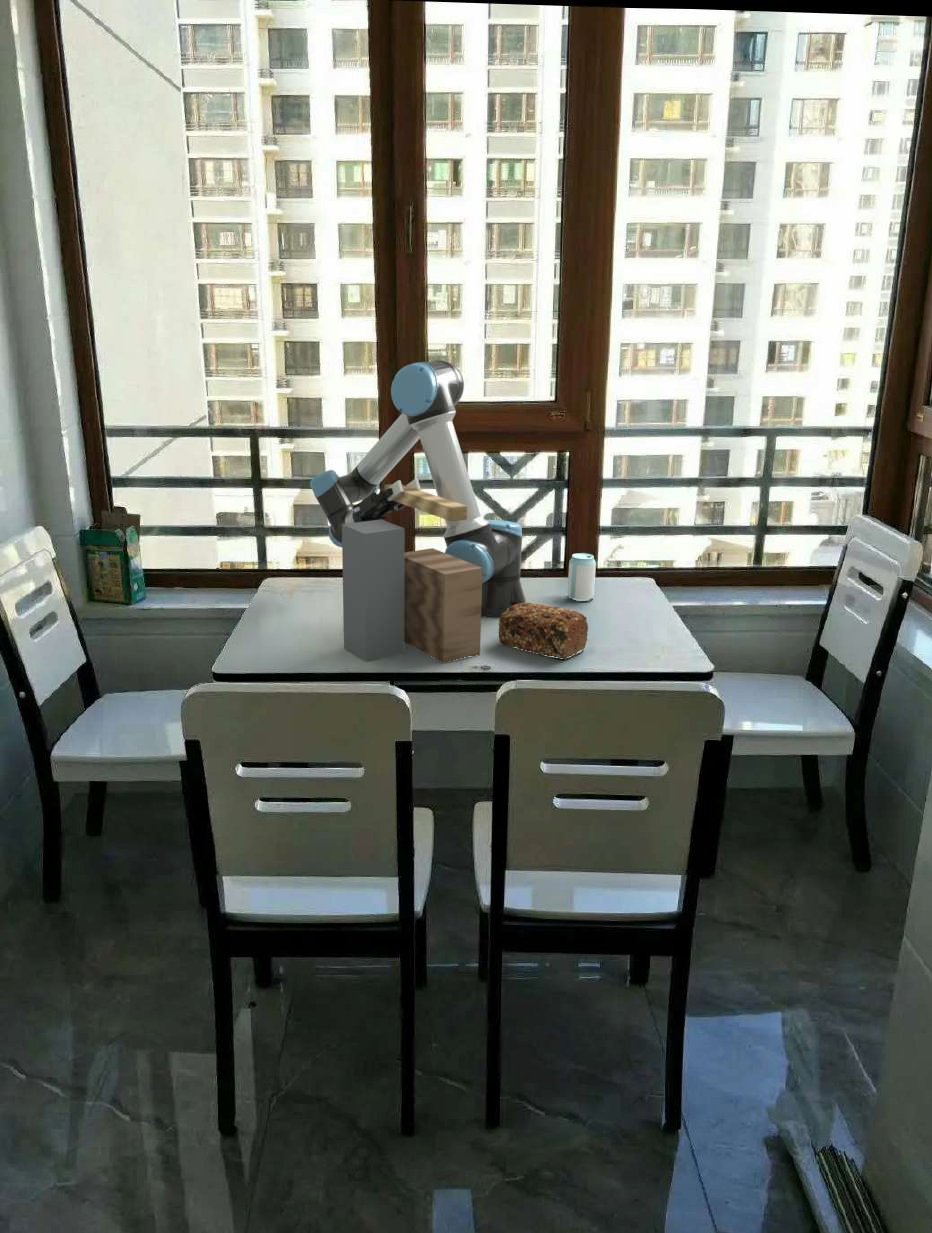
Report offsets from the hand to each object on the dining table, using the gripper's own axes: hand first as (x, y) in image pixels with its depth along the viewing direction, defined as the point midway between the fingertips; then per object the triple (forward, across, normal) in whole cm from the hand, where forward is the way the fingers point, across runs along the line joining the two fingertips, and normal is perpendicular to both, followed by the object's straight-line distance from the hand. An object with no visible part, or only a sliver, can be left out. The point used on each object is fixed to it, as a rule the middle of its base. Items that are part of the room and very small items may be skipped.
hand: (409, 485), depth 230 cm
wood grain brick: (-7, 0, -37) cm, 38 cm away
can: (-16, -54, -32) cm, 65 cm away
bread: (+5, -20, -44) cm, 49 cm away
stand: (-11, +14, -35) cm, 39 cm away
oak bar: (+3, 0, -7) cm, 8 cm away
